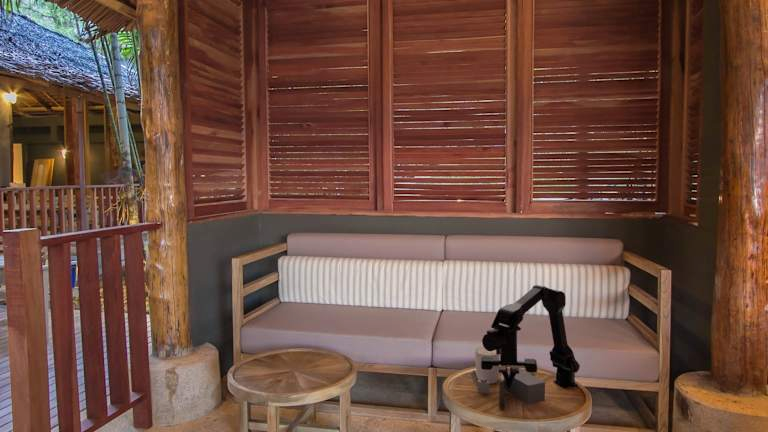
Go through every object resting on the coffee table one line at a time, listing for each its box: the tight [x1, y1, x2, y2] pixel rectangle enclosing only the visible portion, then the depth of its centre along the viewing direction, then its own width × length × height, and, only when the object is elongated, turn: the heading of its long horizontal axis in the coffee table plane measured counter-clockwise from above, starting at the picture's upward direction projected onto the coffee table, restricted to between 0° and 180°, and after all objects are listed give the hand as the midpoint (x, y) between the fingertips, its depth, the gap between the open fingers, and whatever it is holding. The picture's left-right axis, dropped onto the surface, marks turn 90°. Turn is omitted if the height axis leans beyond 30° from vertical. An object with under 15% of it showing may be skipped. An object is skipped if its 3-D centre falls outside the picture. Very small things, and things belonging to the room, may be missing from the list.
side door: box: [498, 373, 506, 409], centre depth 189 cm, size 2×17×10 cm, turn 167°
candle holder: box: [474, 345, 500, 385], centre depth 207 cm, size 10×10×12 cm
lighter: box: [469, 369, 490, 395], centre depth 196 cm, size 7×2×8 cm, turn 69°
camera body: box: [503, 367, 546, 405], centre depth 193 cm, size 9×14×7 cm, turn 24°
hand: (508, 387), depth 182 cm, fingers closed
